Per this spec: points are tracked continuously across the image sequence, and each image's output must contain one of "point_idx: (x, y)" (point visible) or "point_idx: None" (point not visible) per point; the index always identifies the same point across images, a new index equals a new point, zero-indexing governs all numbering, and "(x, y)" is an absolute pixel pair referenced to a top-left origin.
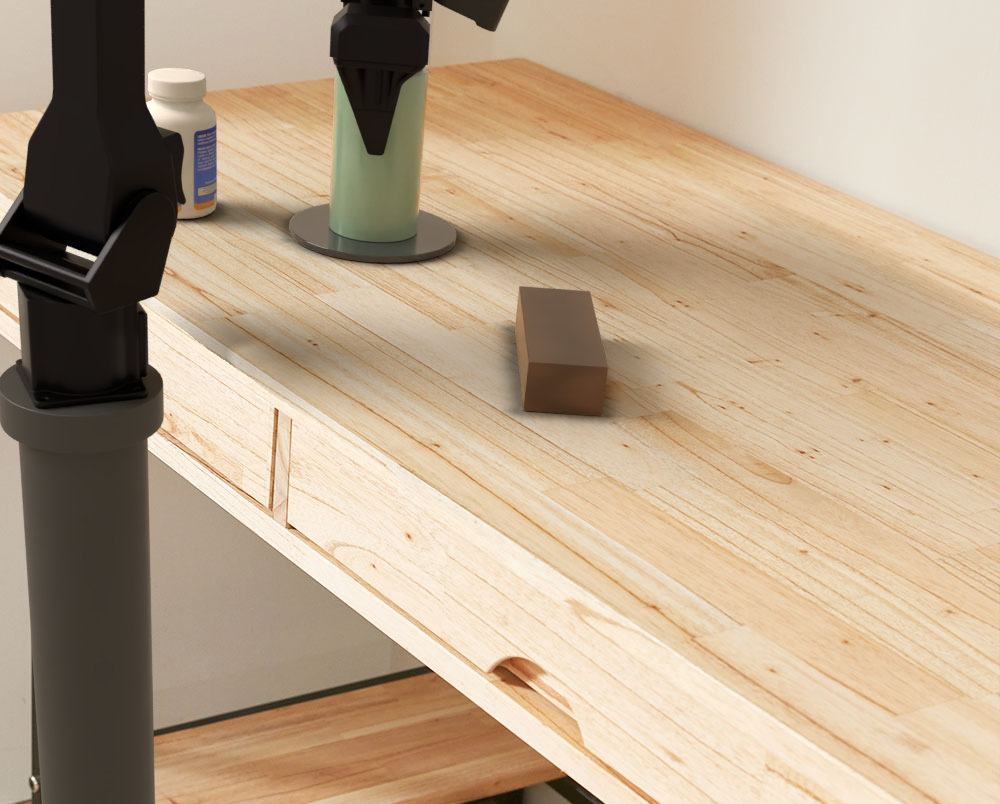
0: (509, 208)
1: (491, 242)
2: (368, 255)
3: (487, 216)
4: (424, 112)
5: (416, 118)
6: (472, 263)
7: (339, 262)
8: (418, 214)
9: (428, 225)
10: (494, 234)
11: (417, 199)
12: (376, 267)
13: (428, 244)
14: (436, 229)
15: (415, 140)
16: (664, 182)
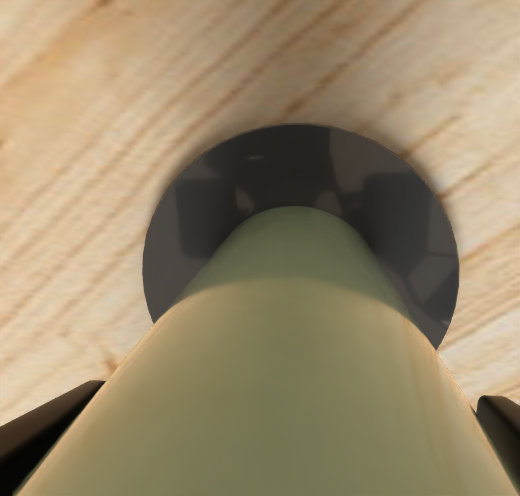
0: (37, 9)
1: (278, 42)
2: (456, 291)
3: (109, 60)
4: (330, 323)
5: (413, 354)
6: (426, 80)
7: (456, 333)
8: (303, 212)
9: (249, 185)
10: (223, 37)
11: (326, 225)
12: (475, 271)
13: (370, 180)
14: (271, 167)
15: (388, 303)
16: None
